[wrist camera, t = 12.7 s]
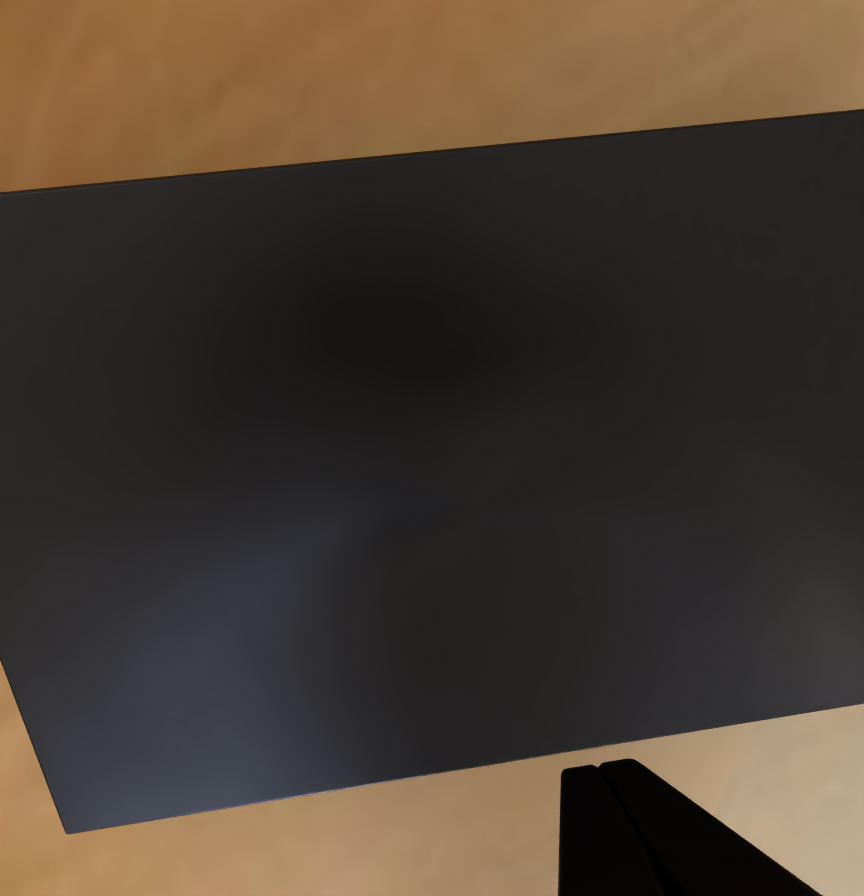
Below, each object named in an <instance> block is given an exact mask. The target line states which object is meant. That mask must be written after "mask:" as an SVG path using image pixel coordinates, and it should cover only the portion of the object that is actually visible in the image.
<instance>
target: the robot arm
mask: <svg viewBox="0 0 864 896" xmlns="http://www.w3.org/2000/svg"><path fill="white" fill-rule="evenodd" d="M558 896H822V895H821V894H819V893H818V892H817V891H815V890H814V889H812V888H811V887H810V886H808V885H807V884H806V883H804V882H803V881H802V880H800V879H799V878H797V877H796V876H795V875H793V874H792V873H791V872H789V871H788V870H786V869H785V868H784V867H782V866H781V865H780V864H778V863H777V862H775V861H774V860H773V859H771V858H770V857H769V856H767V855H766V854H764V853H763V852H762V851H760V850H759V849H758V848H756V847H755V846H753V845H752V844H751V843H749V842H748V841H747V840H745V839H744V838H742V837H741V836H740V835H738V834H737V833H736V832H734V831H733V830H732V829H730V828H729V827H727V826H726V825H725V824H723V823H722V822H721V821H719V820H718V819H716V818H715V817H714V816H712V815H711V814H710V813H708V812H707V811H705V810H704V809H703V808H701V807H700V806H699V805H697V804H696V803H694V802H693V801H692V800H690V799H689V798H688V797H686V796H685V795H683V794H682V793H681V792H679V791H678V790H677V789H675V788H674V787H672V786H671V785H670V784H668V783H667V782H666V781H664V780H663V779H662V778H660V777H659V776H657V775H656V774H655V773H653V772H652V771H651V770H649V769H648V768H646V767H645V766H644V765H642V764H641V763H640V762H638V761H636V760H634V759H622V760H616V761H610V762H604V763H602V764H601V765H600V766H599V767H596V766H594V765H586V766H580V767H573V768H567V769H564V770H563V771H562V773H561V793H560V834H559V875H558Z"/></svg>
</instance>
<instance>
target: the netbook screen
mask: <svg viewBox="0 0 864 896" xmlns="http://www.w3.org/2000/svg"><path fill="white" fill-rule="evenodd" d="M0 660H1V663H2V666H3V668H4V671H5V674H6V676H7V679H8V682H9V684H10V687H11V690H12V692H13V695H14V698H15V700H16V703H17V706H18V708H19V711H20V714H21V716H22V719H23V721H24V724H25V727H26V729H27V732H28V735H29V737H30V740H31V743H32V745H33V748H34V751H35V753H36V756H37V759H38V761H39V764H40V767H41V769H42V772H43V775H44V777H45V780H46V783H47V785H48V788H49V790H50V793H51V796H52V798H53V801H54V804H55V806H56V809H57V812H58V814H59V817H60V820H61V822H62V825H63V828H64V830H65V833H66V834H74V833H80V832H86V831H92V830H98V829H104V828H110V827H117V826H123V825H129V824H135V823H141V822H147V821H153V820H159V819H165V818H171V817H177V816H183V815H189V814H196V813H202V812H208V811H214V810H220V809H226V808H232V807H238V806H244V805H250V804H256V803H262V802H269V801H275V800H281V799H287V798H293V797H299V796H305V795H311V794H317V793H323V792H329V791H335V790H341V789H348V788H354V787H360V786H366V785H372V784H378V783H384V782H390V781H396V780H402V779H408V778H414V777H420V776H427V775H433V774H439V773H445V772H451V771H457V770H463V769H469V768H475V767H481V766H487V765H493V764H499V763H506V762H512V761H518V760H524V759H530V758H536V757H542V756H548V755H554V754H560V753H566V752H572V751H578V750H585V749H591V748H597V747H603V746H609V745H615V744H621V743H627V742H633V741H639V740H645V739H651V738H657V737H664V736H670V735H676V734H682V733H688V732H694V731H700V730H706V729H712V728H718V727H724V726H730V725H736V724H743V723H749V722H755V721H761V720H767V719H773V718H779V717H785V716H791V715H797V714H803V713H809V712H816V711H822V710H828V709H834V708H840V707H846V706H852V705H858V704H864V109H858V110H848V111H838V112H827V113H817V114H807V115H796V116H786V117H776V118H765V119H755V120H745V121H734V122H724V123H714V124H703V125H693V126H682V127H672V128H662V129H651V130H641V131H631V132H620V133H610V134H600V135H589V136H579V137H569V138H558V139H548V140H538V141H527V142H517V143H507V144H496V145H486V146H476V147H465V148H455V149H445V150H434V151H424V152H414V153H403V154H393V155H383V156H372V157H362V158H352V159H341V160H331V161H321V162H310V163H300V164H290V165H279V166H269V167H258V168H248V169H238V170H227V171H217V172H207V173H196V174H186V175H176V176H165V177H155V178H145V179H134V180H124V181H114V182H103V183H93V184H83V185H72V186H62V187H52V188H41V189H31V190H21V191H10V192H0Z"/></svg>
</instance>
